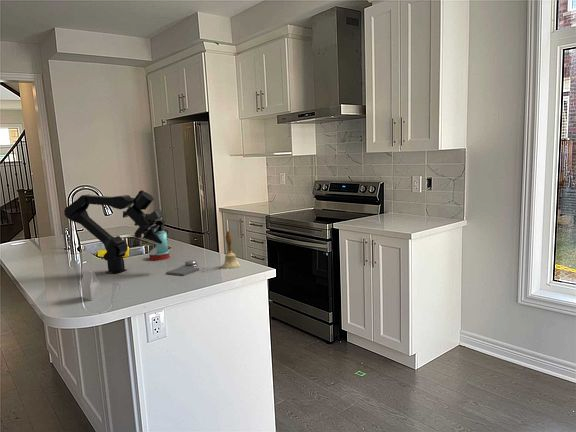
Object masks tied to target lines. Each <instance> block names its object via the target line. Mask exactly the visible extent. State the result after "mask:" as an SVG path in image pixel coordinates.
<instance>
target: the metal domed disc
mask: <svg viewBox="0 0 576 432" xmlns="http://www.w3.org/2000/svg"><path fill="white" fill-rule="evenodd" d="M198 266H199V263H197V260H195V259H192V260H191V259H189V260H186V261H184V264H183V267H192V268H197V267H198Z"/></svg>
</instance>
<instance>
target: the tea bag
mask: <svg viewBox="0 0 576 432" xmlns="http://www.w3.org/2000/svg"><path fill="white" fill-rule="evenodd" d="M80 285H81V295H82V299H85V300H89V301H91V302H92V301H95V300H99V299H102V288H101V282H100V280H99V279H98V277H97V275H96V273H95V271H90V270H85V269H84V270H83V275H82V279H81V281H80Z"/></svg>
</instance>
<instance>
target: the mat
mask: <svg viewBox="0 0 576 432" xmlns="http://www.w3.org/2000/svg"><path fill="white" fill-rule="evenodd" d="M198 271H200V267H184V266H179V267H177V268H173V269H171V270H168V271H166V272H165V274H166V275H171V276H182V277H184V276H188V275H190V274H193V273H195V272H198Z"/></svg>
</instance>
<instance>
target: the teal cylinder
mask: <svg viewBox="0 0 576 432" xmlns="http://www.w3.org/2000/svg"><path fill="white" fill-rule="evenodd" d="M156 235H157V236H158V237H159V238H160V239H161V241H162V243H161V244H159V243H156V242H155V247H156V250H157V252H156V254H157V255H163V254H168V253H169V254H170V250H169V245H168V241H167V239H168V234H167V231H165V230H163V231H158V232H157V233H156Z"/></svg>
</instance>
